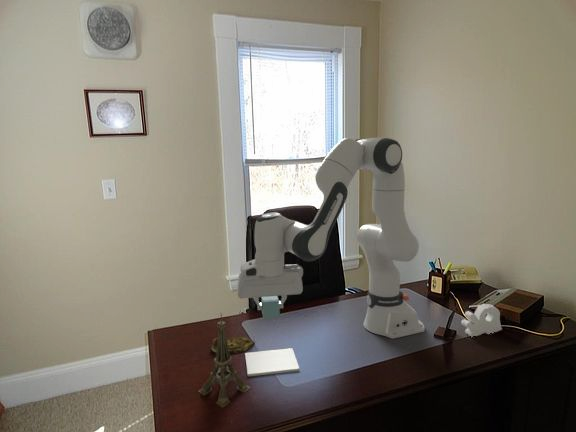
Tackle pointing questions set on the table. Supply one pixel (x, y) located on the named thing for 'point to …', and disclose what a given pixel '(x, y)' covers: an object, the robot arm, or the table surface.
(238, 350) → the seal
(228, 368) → the eiffel tower
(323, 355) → the table surface
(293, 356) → the board
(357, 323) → the table surface
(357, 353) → the table surface
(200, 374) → the table surface
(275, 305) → the cube
